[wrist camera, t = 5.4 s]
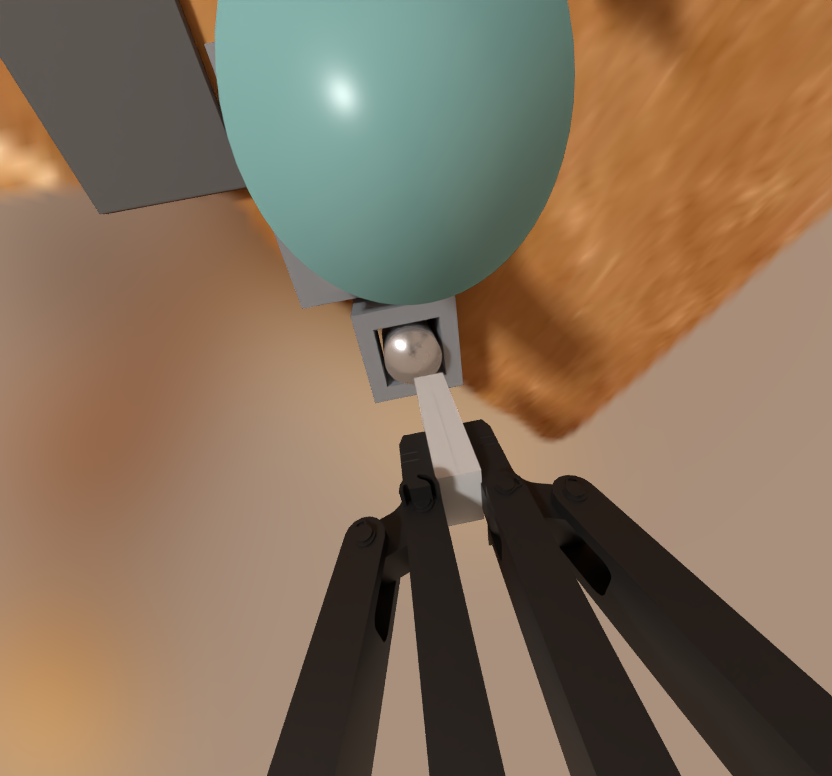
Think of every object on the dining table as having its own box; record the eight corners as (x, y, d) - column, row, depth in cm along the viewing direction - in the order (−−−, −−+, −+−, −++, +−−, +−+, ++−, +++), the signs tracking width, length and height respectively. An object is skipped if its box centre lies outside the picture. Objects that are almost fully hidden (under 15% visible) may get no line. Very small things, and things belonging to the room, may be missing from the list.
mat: (-31, -9, 14) (-47, -17, 13) (163, -40, 14) (155, -50, 13) (106, 213, 18) (99, 214, 18) (249, 187, 19) (246, 186, 18)
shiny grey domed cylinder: (377, 315, 24) (378, 338, 19) (426, 305, 24) (438, 326, 19) (387, 359, 26) (391, 389, 21) (432, 350, 26) (444, 378, 22)
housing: (221, 61, 16) (151, -9, 11) (475, 17, 16) (523, -70, 11) (336, 383, 27) (328, 424, 22) (487, 352, 27) (514, 385, 22)
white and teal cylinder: (324, 144, 17) (114, -151, 3) (414, 127, 17) (604, -223, 3) (349, 244, 19) (300, 328, 6) (427, 230, 20) (557, 277, 6)
